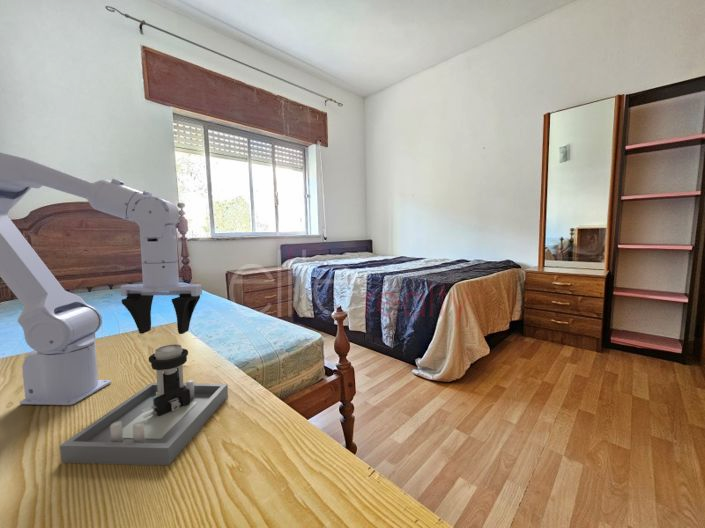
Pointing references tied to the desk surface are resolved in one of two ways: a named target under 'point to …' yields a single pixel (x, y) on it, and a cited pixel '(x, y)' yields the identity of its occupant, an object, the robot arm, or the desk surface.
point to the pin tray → (144, 429)
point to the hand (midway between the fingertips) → (164, 332)
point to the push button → (169, 380)
